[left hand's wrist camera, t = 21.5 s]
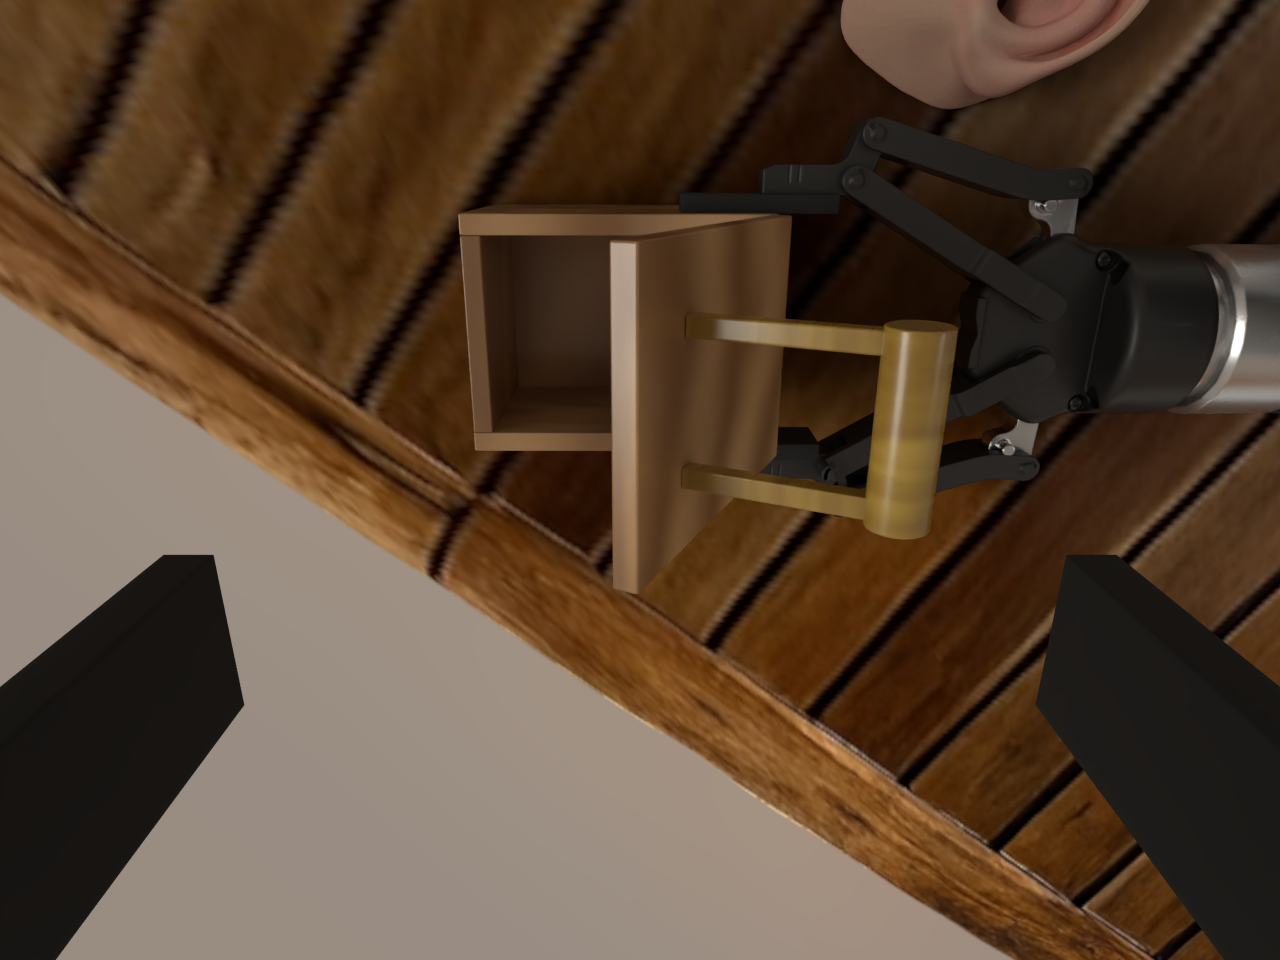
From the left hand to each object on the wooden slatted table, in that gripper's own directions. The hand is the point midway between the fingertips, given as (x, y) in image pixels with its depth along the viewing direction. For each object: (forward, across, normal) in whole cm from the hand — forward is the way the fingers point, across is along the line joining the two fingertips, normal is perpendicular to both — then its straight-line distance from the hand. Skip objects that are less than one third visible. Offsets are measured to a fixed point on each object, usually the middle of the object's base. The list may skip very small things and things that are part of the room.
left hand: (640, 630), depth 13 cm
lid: (+17, +2, 0) cm, 17 cm away
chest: (+33, -1, 0) cm, 33 cm away
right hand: (+26, +2, 0) cm, 26 cm away
